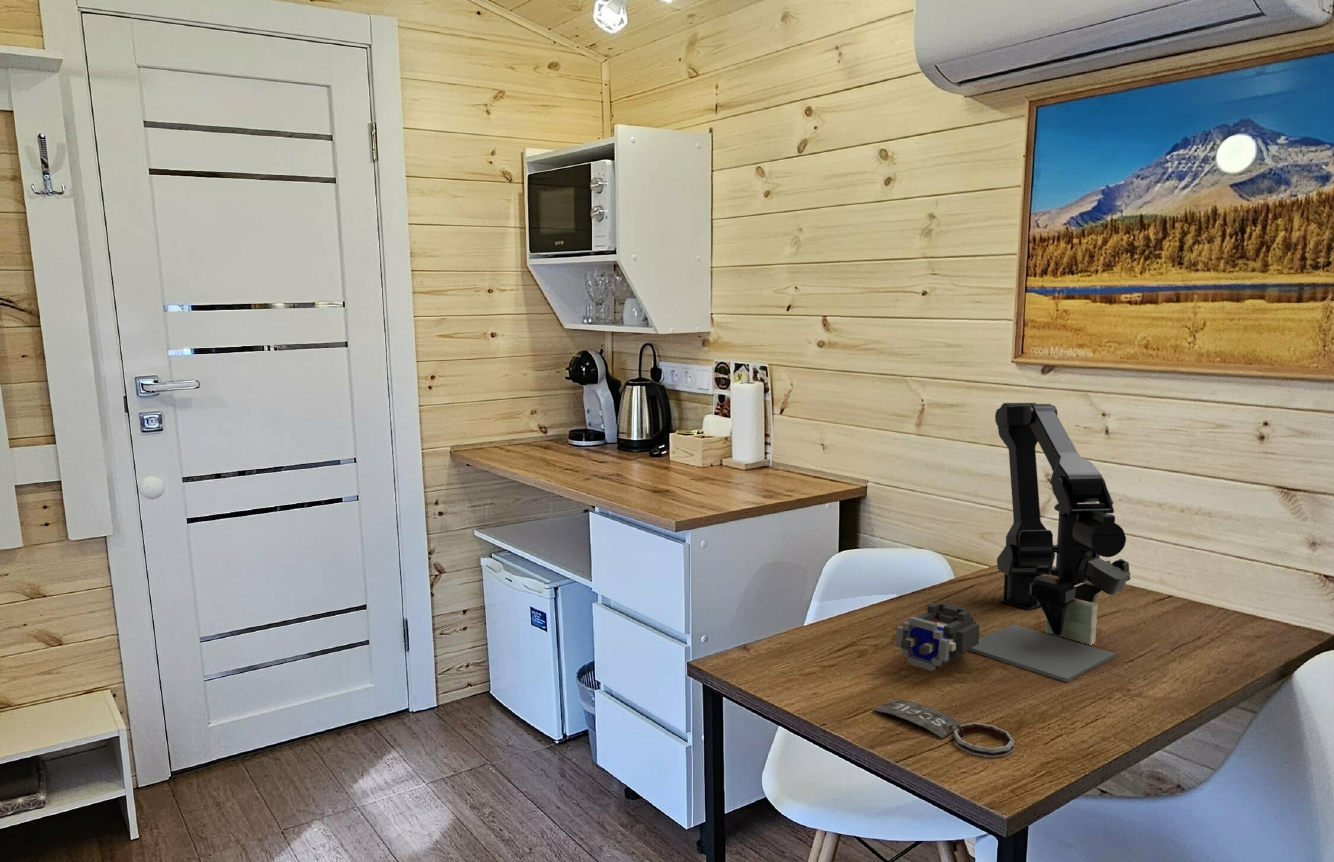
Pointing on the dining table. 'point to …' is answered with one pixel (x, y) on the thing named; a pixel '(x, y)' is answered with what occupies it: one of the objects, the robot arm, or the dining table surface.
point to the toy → (937, 636)
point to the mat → (1041, 652)
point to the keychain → (947, 726)
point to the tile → (1079, 622)
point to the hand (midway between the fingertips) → (1070, 628)
